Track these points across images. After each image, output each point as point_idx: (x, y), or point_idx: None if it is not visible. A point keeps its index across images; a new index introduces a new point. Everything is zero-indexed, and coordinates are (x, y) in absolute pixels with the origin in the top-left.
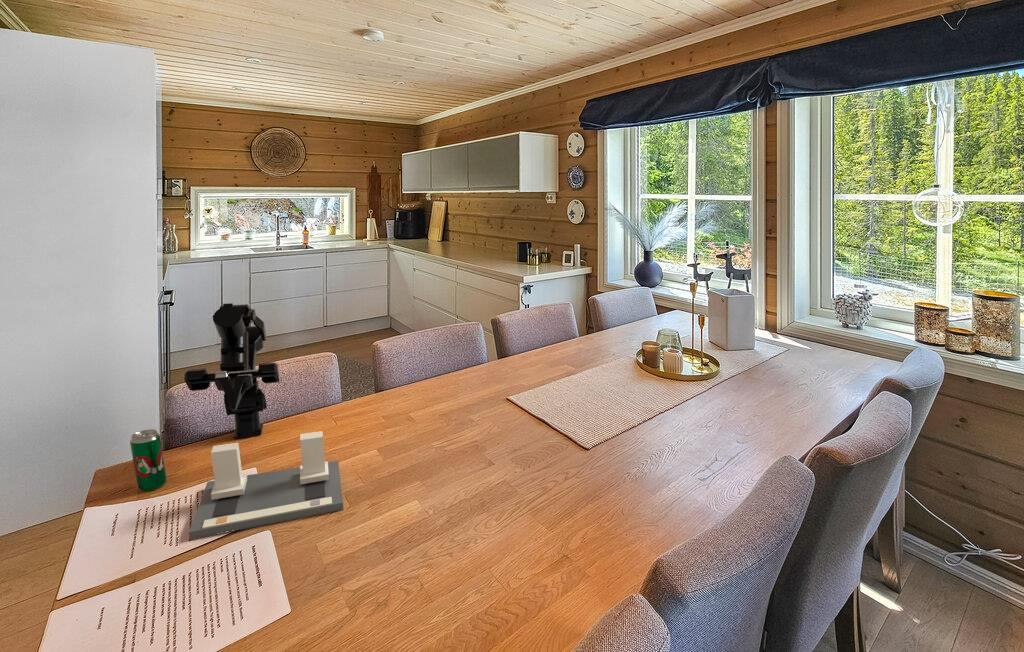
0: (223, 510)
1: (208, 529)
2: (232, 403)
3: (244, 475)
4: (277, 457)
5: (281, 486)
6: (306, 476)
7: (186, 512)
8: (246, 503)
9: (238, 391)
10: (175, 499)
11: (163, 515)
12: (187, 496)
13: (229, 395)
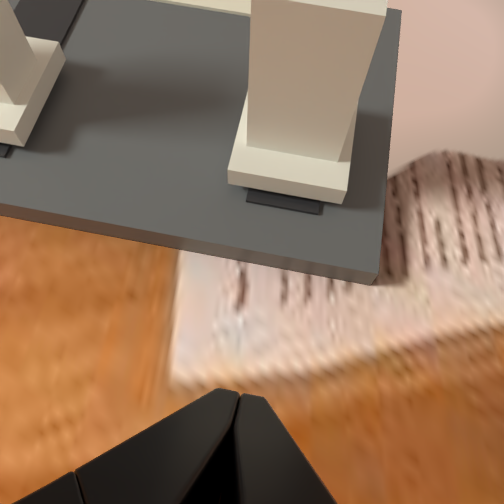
0: None
1: None
2: (240, 416)
3: (236, 162)
4: (52, 437)
5: (124, 99)
6: (31, 46)
7: (424, 157)
8: (248, 60)
9: (69, 485)
10: (479, 261)
11: (493, 175)
12: (439, 261)
13: (278, 488)
